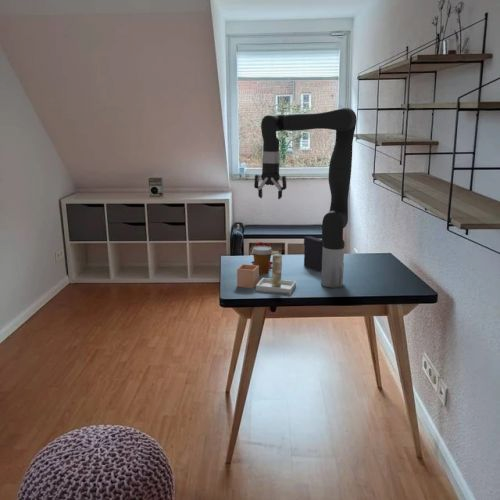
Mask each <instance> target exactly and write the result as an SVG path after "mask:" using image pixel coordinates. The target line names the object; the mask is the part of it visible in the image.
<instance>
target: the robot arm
mask: <svg viewBox="0 0 500 500" xmlns="http://www.w3.org/2000/svg"><path fill="white" fill-rule="evenodd" d="M357 119H358V118H357V114H356V113H355V110H353V109H352V108H349V107H340V108H337V109H332V110H330V111H324V112H315V113H313V112H311V113H309V112H308V113H307V112H297V113H288V114H287V113H286V114H267V115H264V117H262V119H261V122H260V123H261V124H260V129H261V130H260V131H261V136H262V142H263V143H262V144H263V145H262V156H261V157H262V158H261V174H258V173H257V174H255V175H254V182H253V183H254V184H253V187H254V189H257V191H258V192H257V194H258V195H257V196H258V197H259V198H260V199H262V198H263V188H264V186H269V185H270V186H274V187H276V188H277V189H278V191H277V200H281V198H282V197H283V191H284V190H286V189H287V176H286V174H285V175H280V139H279V138H278V137H277V132H283V131H284V132H285V131H288V132H291V131H292V132H294V131H307V130H308V131H309V130H317V129H318V130H319V129H320V130H321V129H324V130H325V129H326V130H332V131H335V143H334V146H333V150H332V152H331V156H330V159H329V166H328V184H329V190H330V196H331V197H330V198H331V199H330V206H329V211H328V212H327V213H326V214H325V215H324V216H323V217H322V224H321V240H322V241H323V255H322V271H321V275H320V276H321V277H320V284H321V286H323V287H325V288H331V289H334V288H342V286H343V284H344V270H345V263H344V262H345V261H344V259H345V258H344V257H345V247H346V246H345V245H346V244H345V240H344V229H345V228H346V226H347V225H348V222H349V203H348V202H349V194H350V193H349V191H350V184H351V179H352V177H351V175H352V168H353V165H352V164H353V162H352V161H353V145H354V143H353V141H354V136H355V133H356V126H357ZM260 179H261V180H262V182H261V183H260V184H259V181H260ZM279 181H281V182H282V183H280V182H279ZM281 184H282V186H281Z"/></svg>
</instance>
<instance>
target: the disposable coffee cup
mask: <svg viewBox="0 0 500 500" xmlns="http://www.w3.org/2000/svg"><path fill="white" fill-rule="evenodd" d="M254 246H255V245H254ZM254 246H253V247H252V251H251V252H252V255H253V261H254V265H257V266H259V275H267V274H269V271H270V269H269V266H270V262H271V260H272V259H271V258H272V253H273V248H272V247H269V246H255V247H254ZM271 248H272V249H271Z"/></svg>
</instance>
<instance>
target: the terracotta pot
mask: <svg viewBox="0 0 500 500" xmlns="http://www.w3.org/2000/svg"><path fill="white" fill-rule="evenodd" d="M259 277H260V274H259V266H257V265H253V264H246V263H242V264H241V265H239V266H238V267H237V269H236V287H240V288H248V289H255V288H256V285H257V284H258V282H259V281H260V278H259Z"/></svg>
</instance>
